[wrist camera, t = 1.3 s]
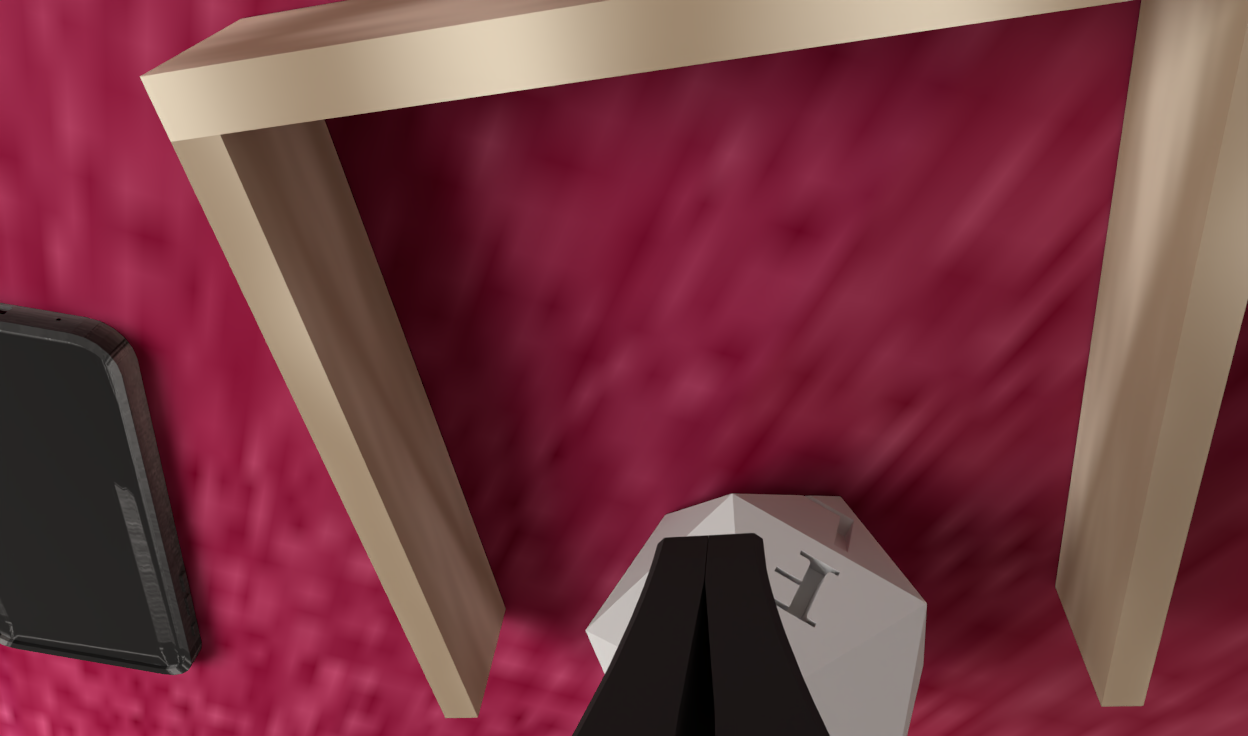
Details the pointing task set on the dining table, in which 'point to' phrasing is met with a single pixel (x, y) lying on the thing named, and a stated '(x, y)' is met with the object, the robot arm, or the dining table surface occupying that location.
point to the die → (810, 604)
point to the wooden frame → (668, 38)
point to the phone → (85, 502)
